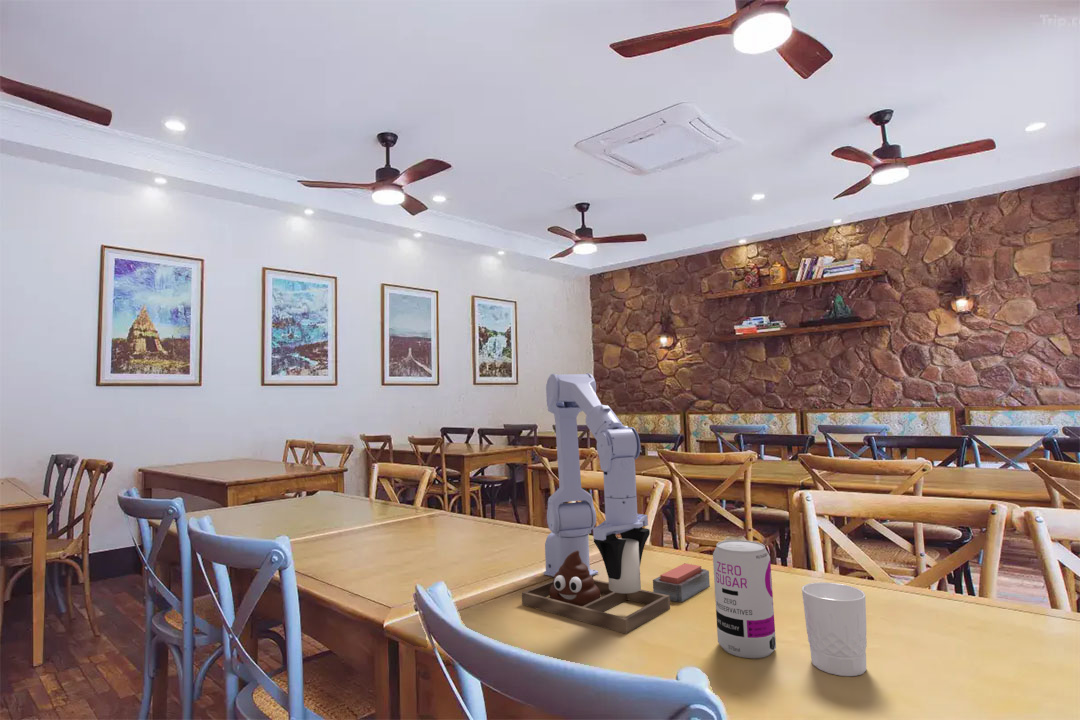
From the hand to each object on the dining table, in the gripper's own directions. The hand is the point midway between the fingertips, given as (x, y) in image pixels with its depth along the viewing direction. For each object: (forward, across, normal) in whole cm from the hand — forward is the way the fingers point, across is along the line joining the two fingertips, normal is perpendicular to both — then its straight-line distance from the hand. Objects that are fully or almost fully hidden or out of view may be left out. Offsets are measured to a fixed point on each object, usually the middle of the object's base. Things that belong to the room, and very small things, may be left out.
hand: (624, 574), depth 101 cm
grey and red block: (+7, +17, -2) cm, 18 cm away
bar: (+6, +17, -2) cm, 18 cm away
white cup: (+7, +1, -34) cm, 35 cm away
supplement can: (+7, -1, -22) cm, 23 cm away
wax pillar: (+2, 0, 0) cm, 2 cm away
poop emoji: (+7, +1, +12) cm, 14 cm away
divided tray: (+7, 0, +7) cm, 10 cm away
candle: (+7, +25, -10) cm, 28 cm away
